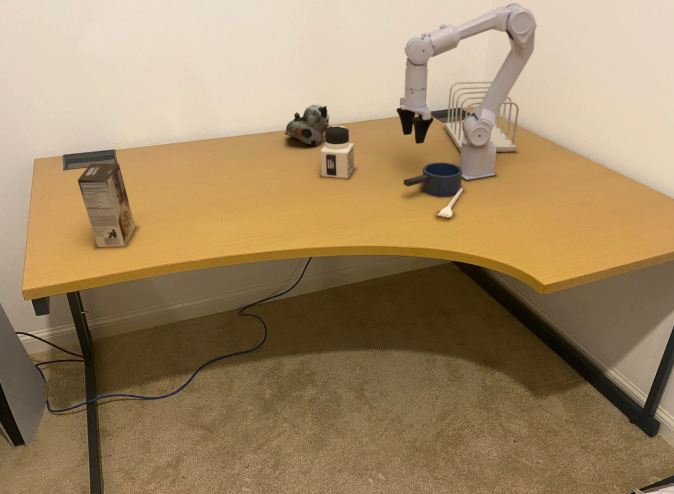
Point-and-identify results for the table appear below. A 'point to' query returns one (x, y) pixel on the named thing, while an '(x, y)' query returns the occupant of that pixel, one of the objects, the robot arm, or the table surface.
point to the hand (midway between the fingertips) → (413, 138)
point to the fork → (450, 206)
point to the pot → (439, 179)
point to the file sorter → (497, 134)
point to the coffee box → (107, 204)
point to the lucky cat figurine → (309, 125)
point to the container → (337, 153)
